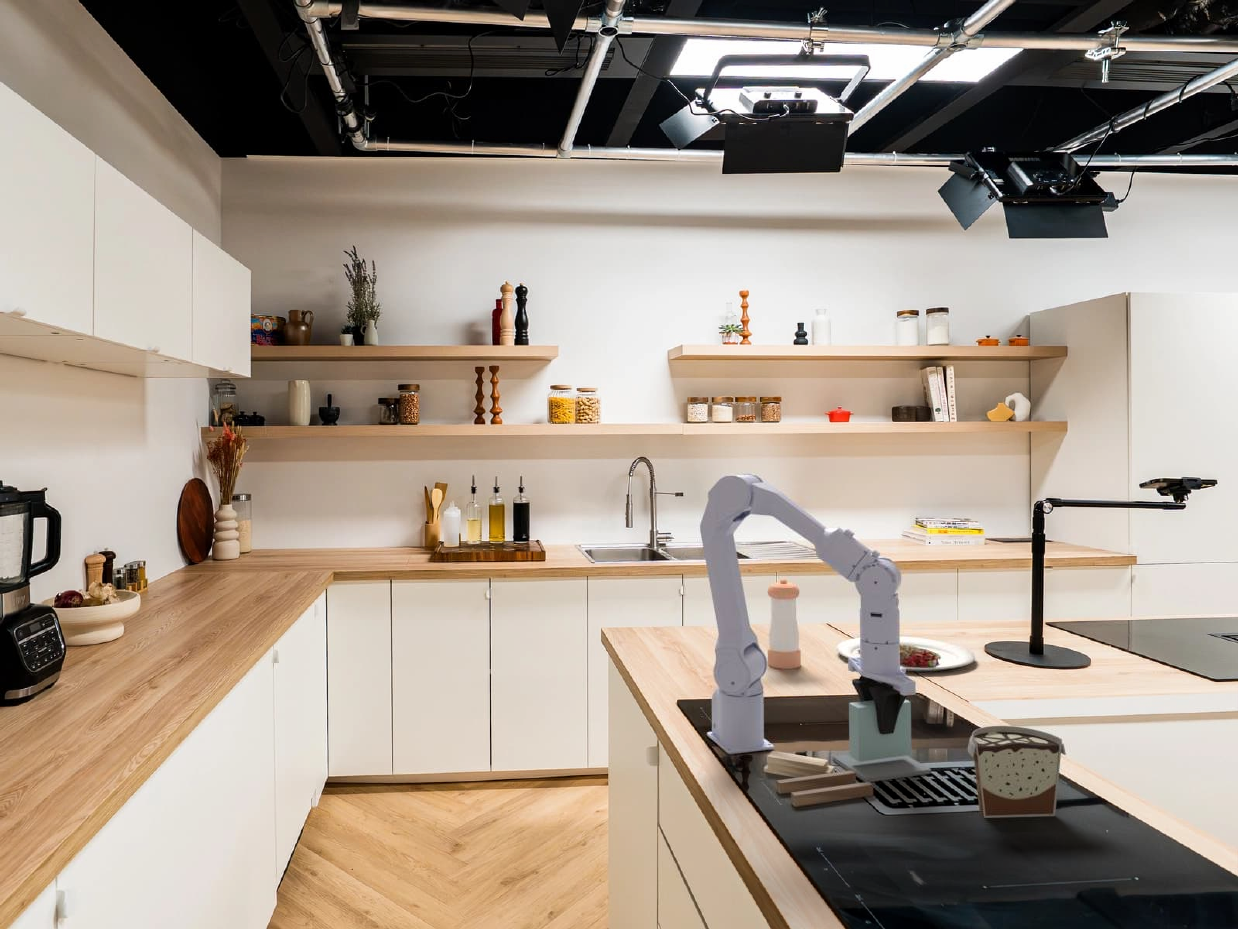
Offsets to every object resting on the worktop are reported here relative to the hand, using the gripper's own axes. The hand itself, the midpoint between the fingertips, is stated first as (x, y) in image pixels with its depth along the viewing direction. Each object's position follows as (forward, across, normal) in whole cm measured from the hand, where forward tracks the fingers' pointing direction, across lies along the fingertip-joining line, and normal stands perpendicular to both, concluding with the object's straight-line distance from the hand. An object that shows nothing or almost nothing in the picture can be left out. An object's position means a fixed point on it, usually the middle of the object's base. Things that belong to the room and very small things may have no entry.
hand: (880, 730), depth 122 cm
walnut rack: (+6, -6, +13) cm, 15 cm away
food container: (+6, -17, -8) cm, 20 cm away
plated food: (+6, +55, -43) cm, 70 cm away
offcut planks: (+6, +1, +13) cm, 14 cm away
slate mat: (+6, 0, 0) cm, 6 cm away
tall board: (+4, 0, 0) cm, 4 cm away
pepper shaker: (+6, +58, -14) cm, 60 cm away
